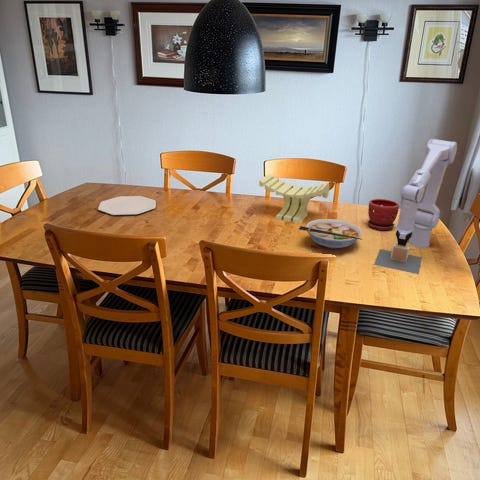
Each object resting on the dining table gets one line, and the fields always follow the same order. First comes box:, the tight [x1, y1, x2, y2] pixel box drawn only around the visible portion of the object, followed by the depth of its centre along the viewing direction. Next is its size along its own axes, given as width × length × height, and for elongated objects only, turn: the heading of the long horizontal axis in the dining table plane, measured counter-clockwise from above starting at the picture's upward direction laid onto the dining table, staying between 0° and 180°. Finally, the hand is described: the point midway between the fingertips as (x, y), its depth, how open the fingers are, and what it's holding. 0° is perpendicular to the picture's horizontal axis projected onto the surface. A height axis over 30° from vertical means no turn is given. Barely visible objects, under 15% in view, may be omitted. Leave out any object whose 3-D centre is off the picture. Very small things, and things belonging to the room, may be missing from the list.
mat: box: [373, 248, 423, 275], centre depth 164 cm, size 16×16×1 cm
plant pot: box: [367, 198, 400, 231], centre depth 196 cm, size 13×13×12 cm
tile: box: [390, 243, 410, 262], centre depth 163 cm, size 2×6×6 cm, turn 65°
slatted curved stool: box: [258, 173, 330, 224], centre depth 204 cm, size 30×16×18 cm, turn 66°
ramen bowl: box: [298, 218, 363, 249], centre depth 176 cm, size 25×23×8 cm
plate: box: [97, 195, 157, 216], centre depth 213 cm, size 28×28×2 cm
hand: (400, 249), depth 164 cm, fingers closed
